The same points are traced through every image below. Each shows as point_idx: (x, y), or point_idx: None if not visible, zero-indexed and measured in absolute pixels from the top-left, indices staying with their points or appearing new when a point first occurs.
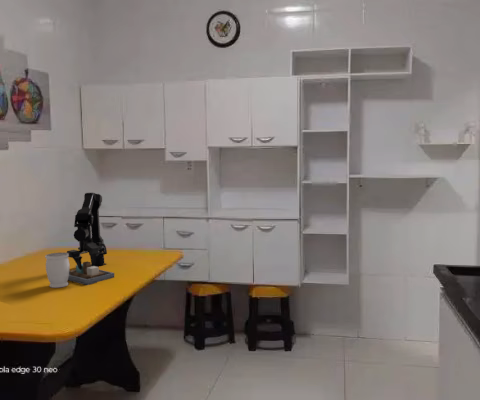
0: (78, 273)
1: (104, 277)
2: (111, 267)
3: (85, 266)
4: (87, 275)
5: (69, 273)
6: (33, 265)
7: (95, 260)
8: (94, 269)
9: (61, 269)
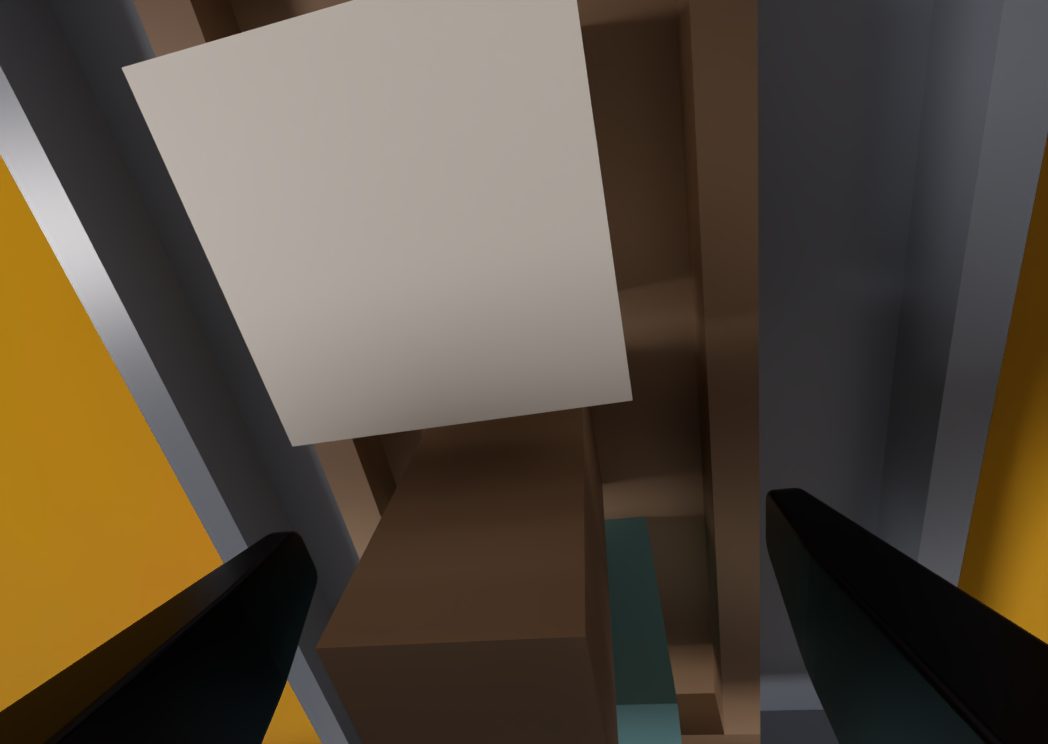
0: (757, 503)
1: None
2: (12, 655)
3: (595, 556)
4: (749, 38)
5: None
6: None
7: (23, 703)
8: (406, 8)
9: None
